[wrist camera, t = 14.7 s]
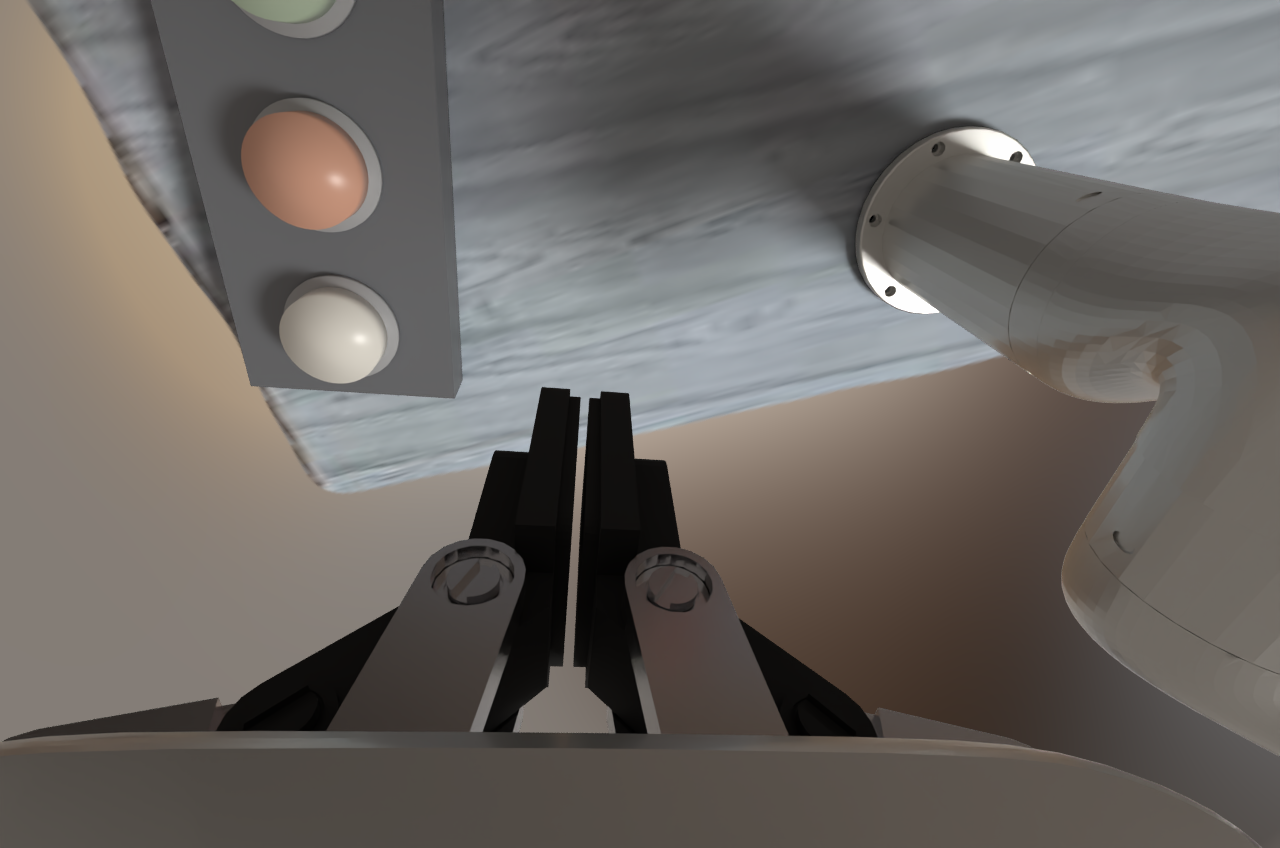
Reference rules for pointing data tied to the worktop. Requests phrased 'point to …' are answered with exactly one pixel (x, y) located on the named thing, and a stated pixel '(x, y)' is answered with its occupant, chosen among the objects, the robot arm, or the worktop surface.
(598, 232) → the worktop surface
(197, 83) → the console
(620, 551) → the robot arm
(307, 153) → the button terracotta
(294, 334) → the button white
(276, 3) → the button green
